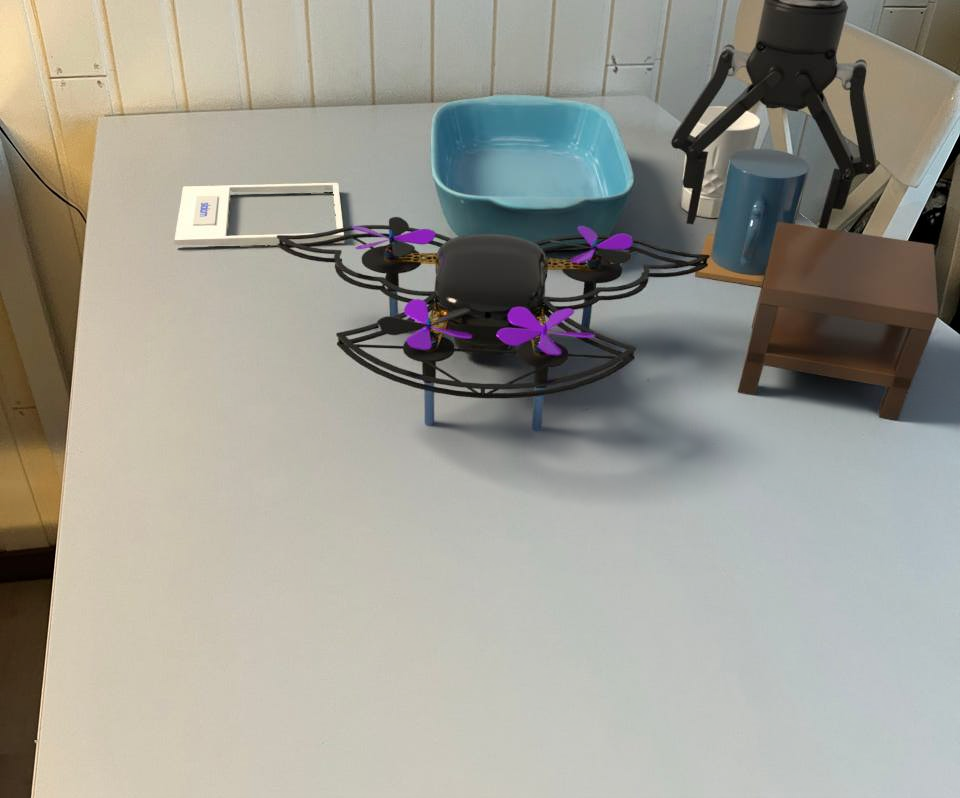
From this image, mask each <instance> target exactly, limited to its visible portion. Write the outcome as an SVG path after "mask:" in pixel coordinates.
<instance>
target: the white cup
mask: <svg viewBox="0 0 960 798" xmlns="http://www.w3.org/2000/svg"><path fill="white" fill-rule="evenodd" d="M727 107H728V106H721V105H720V106H719V105H712V106H709V107H708V108H707V110H706V111H705V112H704V114H703V115H702V117H701V118H700V120H699V121H698V123H697V124H696V126H695V127H694V129H693V130H692V132H691V133H690V135H691V136H693V137H696V136H697V135H698V134H699V133H700V132H701V131H702V130H703V129H704V128H706V127H707V126H708V125H709V124H710V123H711V122H712V121H713V120H714V119H715V118H716V117H717V116H718V115H719V114H721V113H722V112H723V111H724V110H725V109H726V108H727ZM761 123H762V121H761V118H760V117H759V116H758V115H756V114H755V113H753V112H751V111H749V110H748V111H746V112H745V113H744V114H743V115H742V116H741V117H740V118H739V119H737V120H736V121H735V122H734V123H733V124H732V125H731V126H730V127H729V128H728V129H726V130H725V131H724V132H723V133H722V134H721V135H720V136H719V137H718V138H717V139H716V140H714V141H713V142H712V143H711V144H710V145H709V146H708V147H707V148H706V149H705V150H703V151H707V152H708V156H707V161H706V167H705V172H704V178H703V183H702V189H701V194H700V200H699V205H698V210H697V215H696V217H701V218H708V219H718V215H719V210H720V205H721V200H722V195H723V190H724V185H725V180H726V175H727V170H728V165H729V160H730V157H731V156H732V155H733V154H734V153H736V152H738V151H742V150H747V149H755V146H756V143H757V138H758V135H759V131H760V127H761ZM684 154H685V155H684V162H683V174H682V179H683V178H684V172H685V166H686V160H687V156H686V153H684ZM691 194H692V189H690V188H684V186H683V185H682V188H681V195H680V207H681V208H682V209H683V210H684V211H685V212H686V213H688V211H689V205H690V199H691Z"/></svg>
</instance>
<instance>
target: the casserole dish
mask: <svg viewBox="0 0 960 798" xmlns="http://www.w3.org/2000/svg"><path fill="white" fill-rule="evenodd" d="M430 169H431V175H432V178H433V179H432V180H433V182H434V185H435V190H436V194H437V198H438V202H439V204H440V208H441V211H442V213H443V216H444V218H445V220H446V223H447V224H448V226H449V227H450V229H451V230H452V232H453V233H454V234H455V235H456V237H459V236H464V235H472V234H499V235H508V236H515V237H519V238H523V239H527V240H529V241H532V242H538V241H542V240H546V239H551V238H557V237H564V236H574V235H582V234H581V233H580V232H579V231H578V227H579V226H585V227H587V228H589V229H591V230H593V231H594V232H595V233H596V234H597V235H608V236H610V234H611V233H612V231H613V230H614V229H615V227H616V225H617V223H618V221H619V219H620V218H621V215H622V213H623V212H624V208H625V206H626V203H627V201H628V198H629V196H630V194H631V192H632V190H633V187H634V183H635V176H634V175H635V174H634V171H633V170H634V169H633V167H632V163H631V161H630V157H629V155H628V152H627V150H626V147H625V143H624V140H623V137H622V134H621V132H620V130H619V127H618V125H617V122H616V120H615V118H614V117H613V115H611V113H610V112H609V111H607V110H606V109H604V108H603V107H601V106H598V105H596V104H593V103H589V102H584V101H579V100H568V99H561V98H554V97H550V96H545V95H535V94H534V95H533V94H532V95H531V94H530V95H529V94H498V95H497V94H495V95H488V96H484V97H477V98H476V97H475V98H465V99H459V100H454V101H453V100H452V101H450V102H447V103H444V104H443V105H441V106H440V107H439V108H437V109H436V111H435V112H434V114H433V116H432V119H431V124H430ZM603 240H604V239H597V241H596V243H601V242H602V241H603ZM563 242H568V243H572V244H576V243H588V242H587V240H586V239H575V240H565V241H563ZM557 245H562V244H556V243H548V244H544V245H540V247H541V248H546V247H552V246H557ZM586 249H587V248H586V247H577V248H566V249H559V250H558V251H575V250H586Z"/></svg>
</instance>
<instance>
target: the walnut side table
mask: <svg viewBox="0 0 960 798" xmlns="http://www.w3.org/2000/svg"><path fill="white" fill-rule="evenodd" d="M935 257H936V256H935V244H934V243H933V244H932V243H927V242H926V243H925V242H920V241H919V242H917V241H911V240H906V239H897V238H892V237H884V236H878V235H871V234H864V233H857V232H851V231H845V230H844V231H843V230H838V229H830V228H827V229H824V228H818V226H817V227H816V226H810V225H804V224H797V223H795V224H790V223H783V222H777V225H776V229H775V233H774V237H773V242H772V246H771V250H770V254H769V258H768V262H767V266H766V270H765V274H764V278H763V282H762V287H760V291H759V294H758V299H757V303H756V306H755V307H756V308H755V310H754V311H755V312H754V315H753V320H752V324H751V333H750V337H749V342H748V345H747V346H748V347H747V351H746V356H745V359H744V362H743V363H744V364H743V366H742V372H741V376H740V379H739V384H738V389H737V393H741V394H746V395H752V396H755V395H756V394H757V391H758V387H759V384H760V379H761V375H762V372H763V367H765V366H766V367H770V368H771V367H772V368H777V369H783V370H788V371H793V372H801V373H805V374H812V375H816V376H824V377H829V378H835V379H840V380H841V379H842V380H845V381H853V382H856V383H857V382H858V383H862V384H864V383H865V384H869V385H875V386H881V387H886V388H885V391H884V394H883V396H882V398H881V402H880V404H879V407H878V418H880V419H887V420H892V421H898V420H899V418H900V415H901V412H902V410H903V407H904V405H905V402H906V399H907V397H908V395H909V394H908V393H909V391H910V389H911V387H912V384H913V381H914V378H915V376H916V373H917V371H918V368H919V366H920V364H921V361H922V358H923V355H924V353H925V350H926V347H927V345H928V342H929V339H930V337H931V334H932V331H933V329H934V326H935V324H936V322H937V319H938V317H939V308H938V307H939V306H938V305H939V304H938V291H937V274H936V273H937V272H936V259H935Z"/></svg>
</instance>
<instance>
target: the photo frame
mask: <svg viewBox="0 0 960 798" xmlns="http://www.w3.org/2000/svg"><path fill="white" fill-rule="evenodd" d="M325 190H333V193H332V194H334V196H333V205H334V204H335V206H334V215H335V214H336V216H335V225H336V229H340V228H344V223H343V214H342V206H341V197H340V187H339V182H313V183H309V182H308V183H275V184H274V183H271V184H233V185H231V184H230V185H229V184H228V185H226V184H225V185H194V186H193V185H192V186H189V185H187V186H185V185H184V186H183V187H182V193H181V197H180V204H179V210H178V216H177V222H176V227H175V235H174V245H265V246H264V247H266V246H267V245H270V246H278V244H279V239H278V238H277V235H308V234H316V233H317V232H312V233H310V232H307V233H277V234H273V233H272V234H246V235H245V234H244V235H243V234H242V235H228V236H227V228H228V229H229V223H228V214H229V215H230V211H229V199H230V200H231V198H230V191H232V192H238V191H239V192H325ZM228 212H229V213H228ZM341 236H345V232H341V233H338V234H334V235H330V236H324V237H318V238H309V239H289V240H291V241H293V242H295V243H297V244H300V243H313V242H319V241H325V240H330V239H334V238H338V237H341ZM283 244H285V243H284V242H283ZM332 244H345V240H343V241H339V242H336V243H332ZM332 244H331V245H332ZM267 247H268V246H267Z"/></svg>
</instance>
